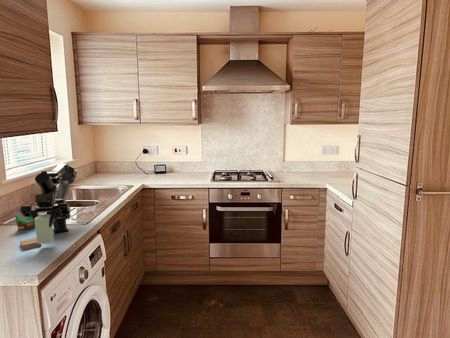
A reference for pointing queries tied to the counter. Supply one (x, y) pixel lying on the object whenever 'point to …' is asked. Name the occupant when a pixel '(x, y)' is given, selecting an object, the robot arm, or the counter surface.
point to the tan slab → (29, 243)
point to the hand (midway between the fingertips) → (42, 227)
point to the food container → (24, 221)
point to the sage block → (43, 229)
